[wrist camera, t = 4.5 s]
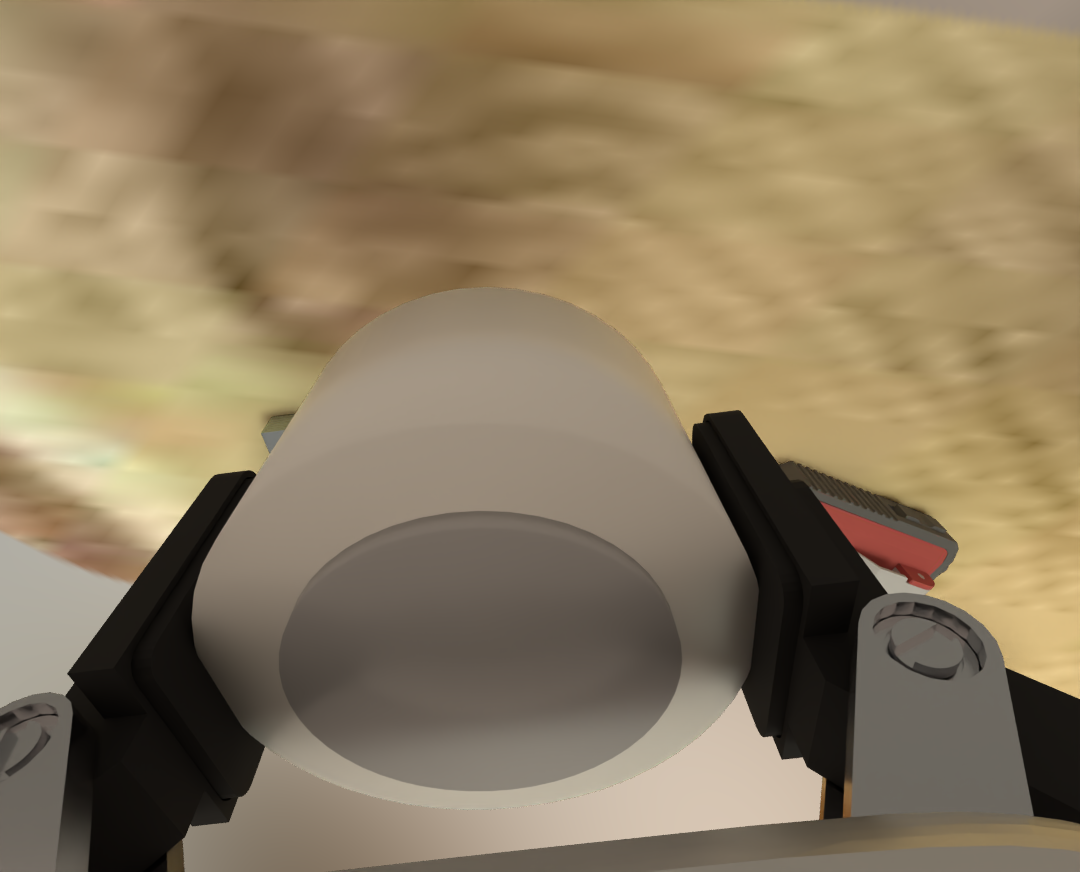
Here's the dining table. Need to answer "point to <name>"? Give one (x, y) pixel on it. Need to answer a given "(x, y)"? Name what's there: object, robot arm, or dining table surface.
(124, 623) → the robot arm
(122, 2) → the dining table surface
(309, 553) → the cup
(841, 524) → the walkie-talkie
